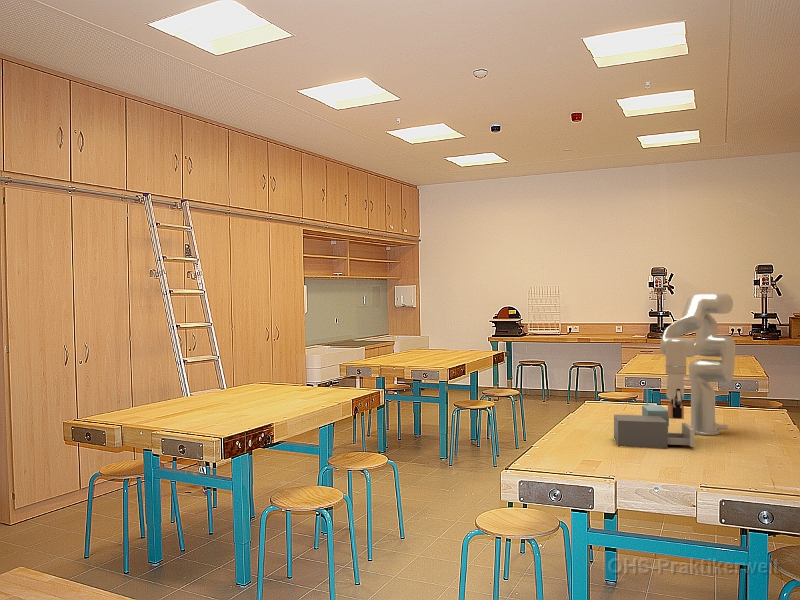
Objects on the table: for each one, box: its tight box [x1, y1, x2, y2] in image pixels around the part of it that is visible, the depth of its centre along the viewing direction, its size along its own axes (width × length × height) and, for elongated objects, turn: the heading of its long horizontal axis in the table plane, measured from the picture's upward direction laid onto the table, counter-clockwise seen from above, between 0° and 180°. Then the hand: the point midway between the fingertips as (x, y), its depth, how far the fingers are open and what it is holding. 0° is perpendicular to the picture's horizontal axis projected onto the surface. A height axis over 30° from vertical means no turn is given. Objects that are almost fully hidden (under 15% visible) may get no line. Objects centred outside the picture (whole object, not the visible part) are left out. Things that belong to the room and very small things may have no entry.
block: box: [667, 403, 685, 420], centre depth 264 cm, size 5×5×5 cm
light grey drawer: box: [667, 422, 695, 448], centre depth 264 cm, size 17×16×6 cm
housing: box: [613, 414, 668, 449], centre depth 267 cm, size 18×15×10 cm
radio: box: [641, 386, 670, 433], centre depth 282 cm, size 16×9×20 cm, turn 168°
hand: (675, 416), depth 264 cm, fingers closed on block, 4 cm apart
